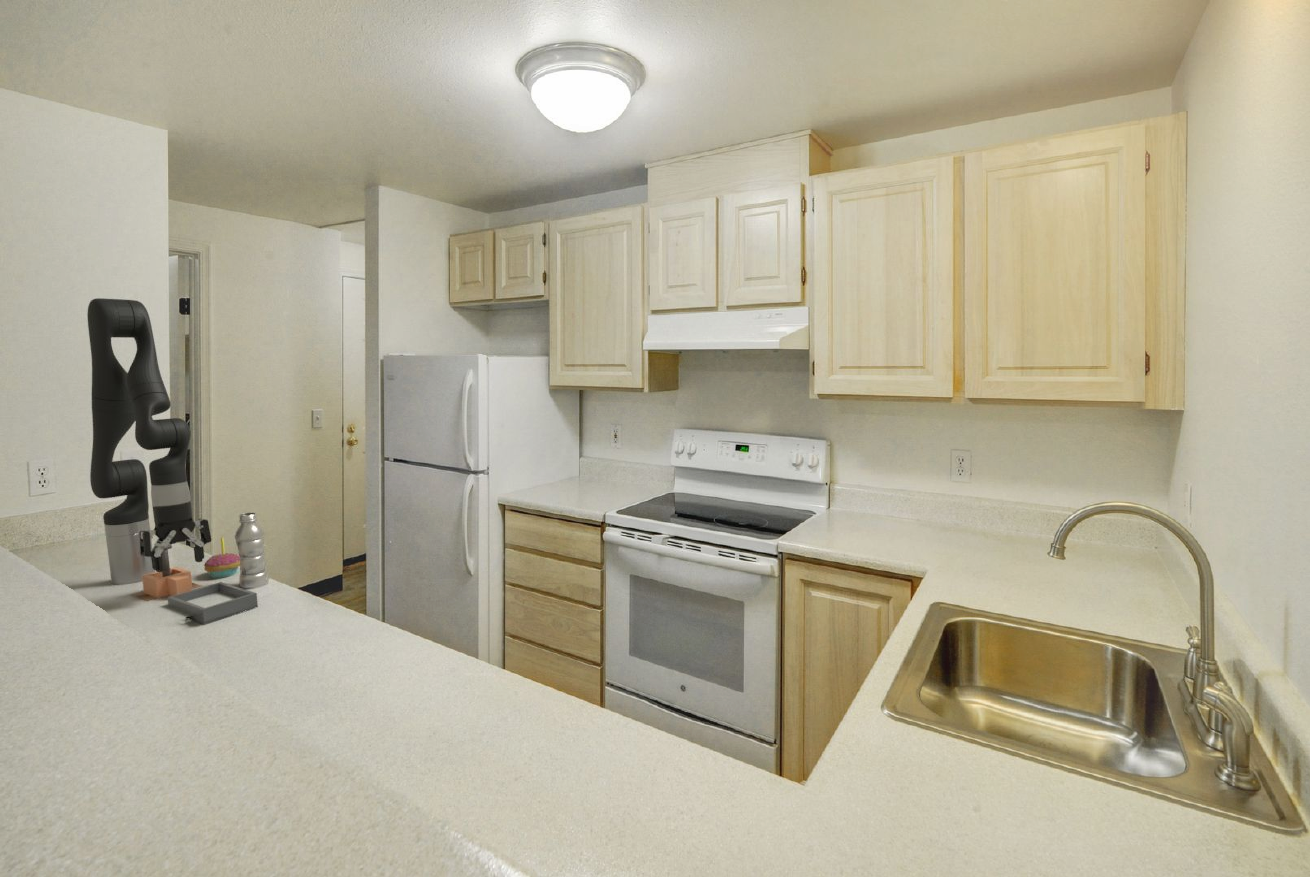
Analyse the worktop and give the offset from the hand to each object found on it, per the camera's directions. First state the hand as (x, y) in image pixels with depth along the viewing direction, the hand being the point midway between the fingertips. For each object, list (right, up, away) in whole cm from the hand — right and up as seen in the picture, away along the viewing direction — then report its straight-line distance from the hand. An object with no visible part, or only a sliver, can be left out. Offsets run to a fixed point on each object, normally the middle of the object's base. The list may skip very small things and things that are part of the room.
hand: (179, 566), depth 160 cm
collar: (-4, -7, +4) cm, 9 cm away
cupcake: (0, -7, +17) cm, 18 cm away
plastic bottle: (+13, -8, +8) cm, 18 cm away
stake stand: (-6, -9, +5) cm, 12 cm away
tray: (+11, -9, -4) cm, 15 cm away
